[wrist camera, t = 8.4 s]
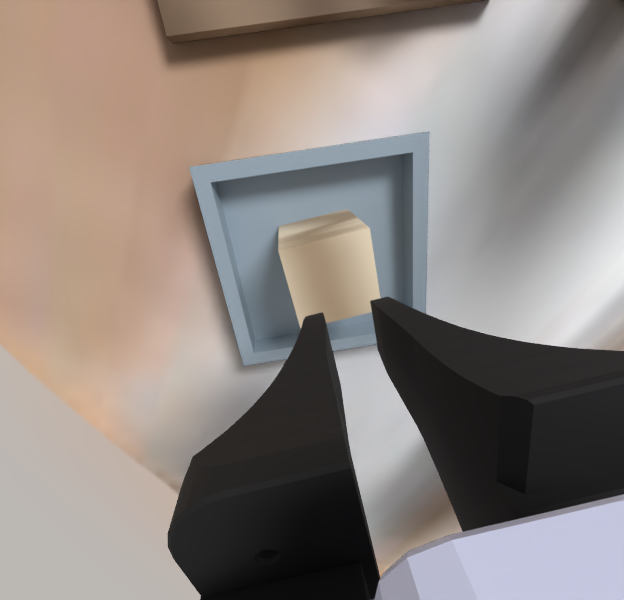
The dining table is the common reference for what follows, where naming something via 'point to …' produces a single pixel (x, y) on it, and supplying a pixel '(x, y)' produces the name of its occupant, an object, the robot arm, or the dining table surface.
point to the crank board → (271, 14)
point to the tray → (307, 204)
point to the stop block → (329, 266)
